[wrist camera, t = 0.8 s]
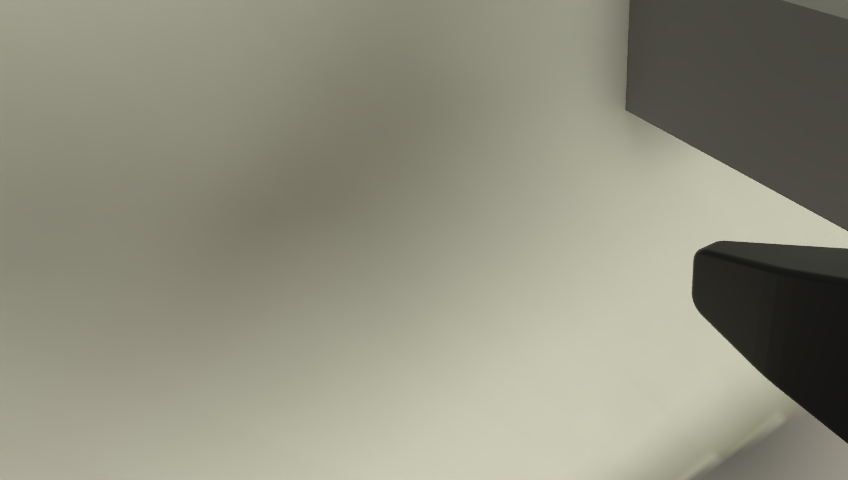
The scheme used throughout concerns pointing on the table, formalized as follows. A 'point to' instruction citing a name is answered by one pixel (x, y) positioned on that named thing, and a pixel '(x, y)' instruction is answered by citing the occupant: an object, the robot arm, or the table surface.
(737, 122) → the grey square pillar
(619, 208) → the table surface
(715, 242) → the robot arm
